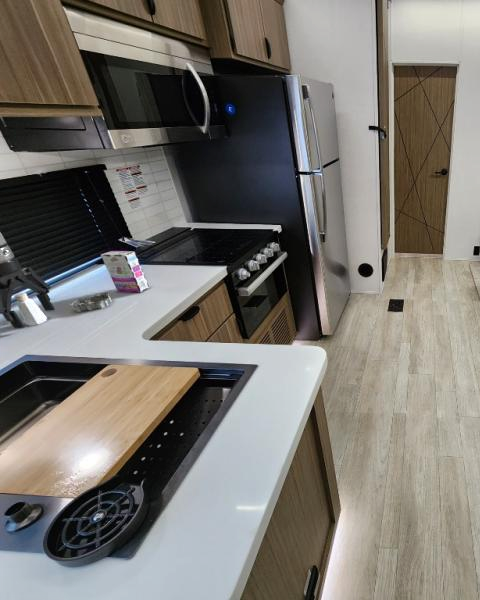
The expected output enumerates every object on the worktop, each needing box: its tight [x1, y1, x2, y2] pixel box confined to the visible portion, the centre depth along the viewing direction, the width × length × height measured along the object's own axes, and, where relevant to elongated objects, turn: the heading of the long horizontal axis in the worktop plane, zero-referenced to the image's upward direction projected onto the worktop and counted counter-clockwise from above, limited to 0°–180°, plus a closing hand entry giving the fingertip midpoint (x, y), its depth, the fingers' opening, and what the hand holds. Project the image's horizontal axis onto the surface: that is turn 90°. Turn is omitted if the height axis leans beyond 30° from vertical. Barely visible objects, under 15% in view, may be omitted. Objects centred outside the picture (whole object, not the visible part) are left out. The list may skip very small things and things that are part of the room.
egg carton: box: [69, 291, 113, 313], centre depth 126 cm, size 11×8×4 cm
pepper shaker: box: [14, 292, 48, 326], centre depth 114 cm, size 5×5×11 cm
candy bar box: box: [100, 250, 150, 293], centre depth 135 cm, size 11×5×16 cm, turn 83°
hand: (35, 318), depth 117 cm, fingers open, 11 cm apart
